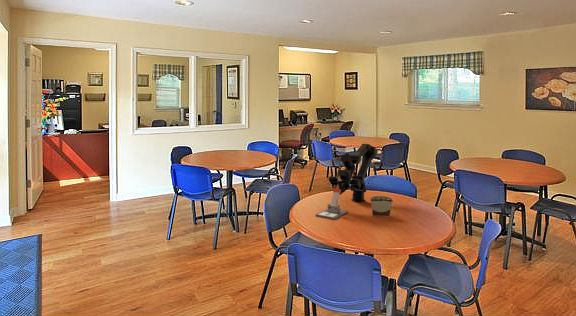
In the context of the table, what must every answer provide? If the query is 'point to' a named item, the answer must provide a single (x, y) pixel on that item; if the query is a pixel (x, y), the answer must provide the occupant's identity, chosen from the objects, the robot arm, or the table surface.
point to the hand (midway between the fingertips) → (339, 194)
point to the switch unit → (331, 213)
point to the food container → (381, 205)
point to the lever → (335, 198)
